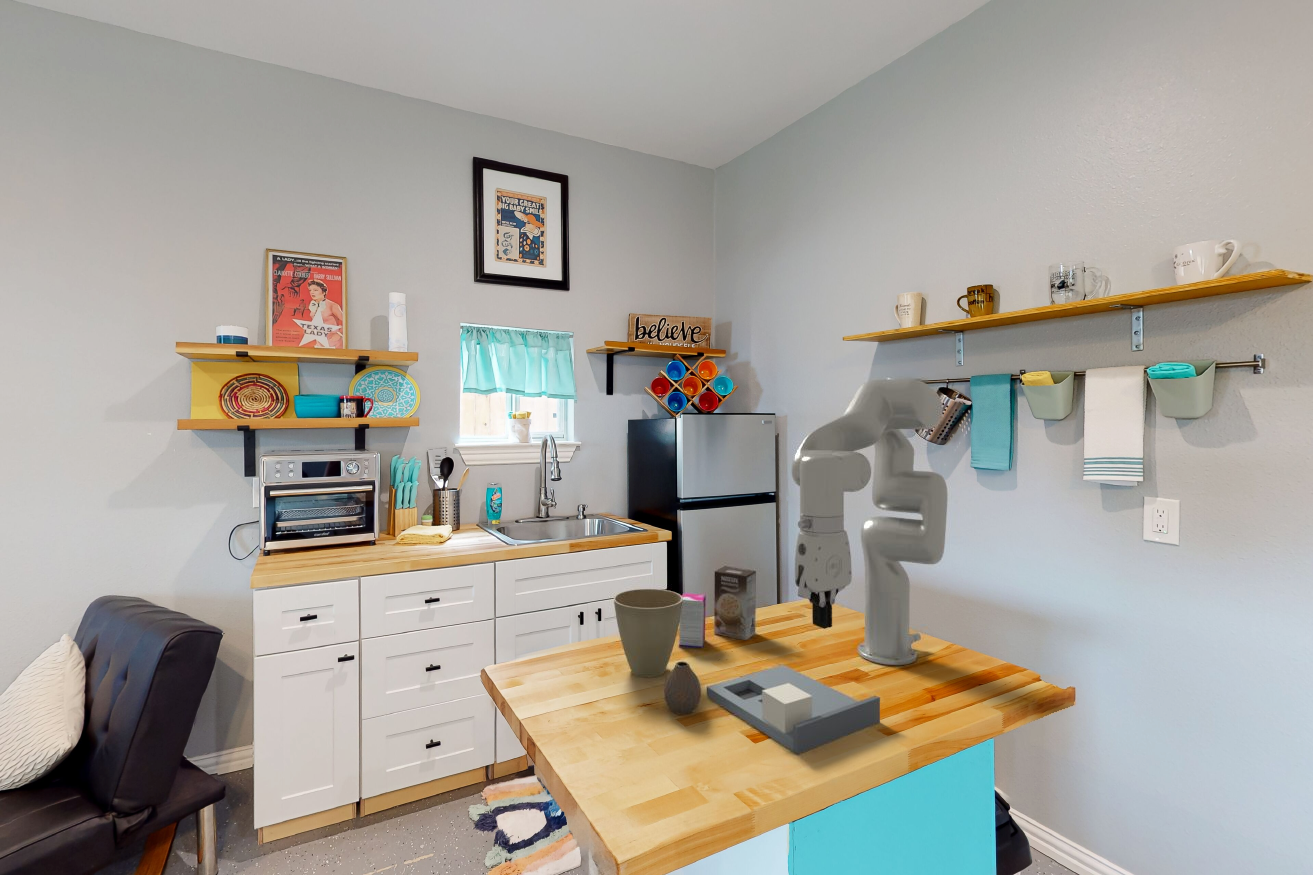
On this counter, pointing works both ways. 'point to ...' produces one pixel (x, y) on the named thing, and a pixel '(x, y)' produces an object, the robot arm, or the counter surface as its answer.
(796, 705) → the cream block
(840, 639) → the counter surface
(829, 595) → the robot arm
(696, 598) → the supplement box
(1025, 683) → the counter surface
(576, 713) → the counter surface
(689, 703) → the vase
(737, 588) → the coffee box
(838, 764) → the counter surface
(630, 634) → the plant pot
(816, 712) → the board
